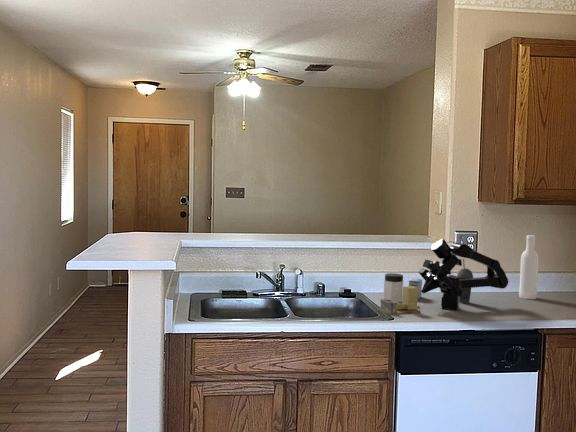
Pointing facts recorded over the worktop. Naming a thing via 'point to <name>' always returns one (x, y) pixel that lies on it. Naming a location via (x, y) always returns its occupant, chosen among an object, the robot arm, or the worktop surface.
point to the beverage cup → (466, 291)
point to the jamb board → (394, 308)
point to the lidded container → (393, 287)
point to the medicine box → (416, 285)
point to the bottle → (529, 270)
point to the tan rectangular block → (409, 298)
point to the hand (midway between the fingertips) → (422, 292)
